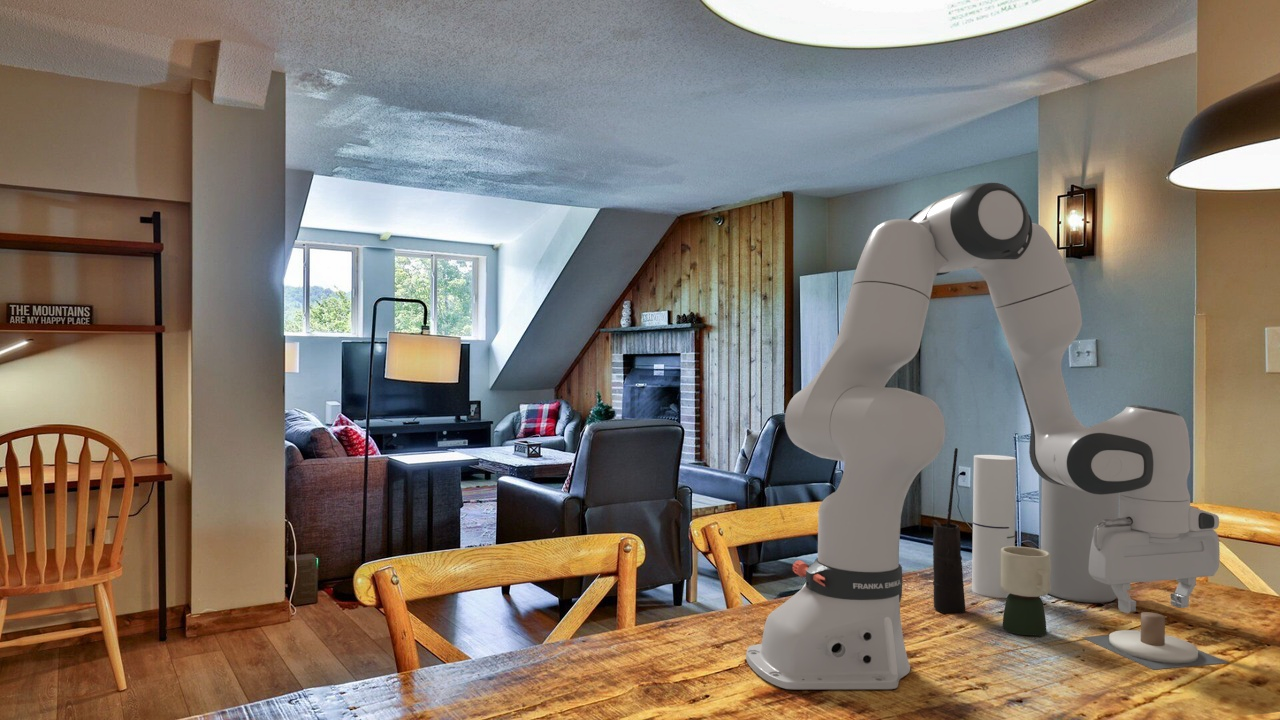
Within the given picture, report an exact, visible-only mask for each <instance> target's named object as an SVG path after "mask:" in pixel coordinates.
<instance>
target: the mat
mask: <svg viewBox="0 0 1280 720" xmlns="http://www.w3.org/2000/svg"><path fill="white" fill-rule="evenodd" d="M1109 635H1110V634H1105V635H1093V636H1090V635H1089V636H1081V637H1080V638H1081V639H1084V640H1085V641H1087V642H1088V641H1089V642H1090V643H1093V644H1094V645H1096V646H1099V647H1101V648H1103V649H1105V650H1107V651H1110V652H1113V653H1114V654H1117V655H1119V656H1121V657H1123V658H1125V659H1127V660H1130V661H1133V662H1135V663H1136V664H1138V665H1141V666H1143V667H1145V668H1148V669H1150V670H1152V671H1156V670H1171V669H1179V668H1189V667H1202V666H1212V665H1213V666H1214V665H1223V664H1230V662H1229V661H1227V660H1224V659H1222V658H1219V657H1217V656H1215V655H1212V654H1209V653H1207V652H1205V651H1202V650H1199V649H1198V659H1197V660H1196V661H1194V662H1190V663H1164V662H1157V661H1151V660H1146V659H1141V658H1137V657H1134V656H1131V655H1128V654H1125V653H1122V652H1120V651H1118V650H1116V649H1115V648H1113V647H1112V646H1111V645H1110V643H1109Z"/></svg>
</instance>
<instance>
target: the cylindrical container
mask: <svg viewBox="0 0 1280 720" xmlns="http://www.w3.org/2000/svg"><path fill="white" fill-rule="evenodd" d="M1016 464H1017V457H1014V456H1009V455H998V454H975V455H973V477H972V478H973V485H972V486H973V489H972V492H973V493H972V501H973V502H972V508H973V509H972V551H971V552H972V553H971V554H972V556H971V557H972V558H971V559H972V564H971V568H972V569H971V572H972V573H971V574H972V575H971V576H972V577H971V591H972V592H973V593H975V594H978V595H979V596H983V597H988V598H999V599H1005V598H1007V596H1008V595H1009V594H1010V593H1008V592H1006V591H1004V590H1002V589H1001V548H1004V547H1011V546H1015V547H1016V543H1015V542H1016V491H1017V490H1016V485H1017V482H1016V478H1017V477H1016V475H1017V473H1016V472H1017V465H1016Z"/></svg>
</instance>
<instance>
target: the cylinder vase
mask: <svg viewBox="0 0 1280 720" xmlns="http://www.w3.org/2000/svg"><path fill="white" fill-rule="evenodd" d="M1040 505H1041V510H1040V511H1041V514H1040V515H1041V518H1040V519H1041V520H1040V527H1041V528H1040V550H1044V551H1047V552H1049V553H1050V565H1051V572H1050V586H1051V589H1050V592H1049V593H1048V594H1047V595H1051V596H1053V597H1056V598H1058V599H1063V600H1068V601H1072V602H1076V603H1077V602H1079V603H1087V604H1089V603H1090V604H1102V603H1110V602H1112V601H1114V600H1115V599H1118V598H1117V596H1116V595H1115V593H1114V591H1113V589H1112V588H1111V585H1108V584H1105V583H1102V582H1099V581H1096V580H1094V579H1093V578H1092V577H1091V575H1090V574H1089V557H1090V549H1091V543H1092V539H1093V532H1094V528H1095V527H1096V526H1097V525H1098V524H1099V523H1101V521H1102V520H1104V519H1117V518H1119V493H1113V494H1104V495H1094V494H1089V493H1085V492H1082V491H1079V490H1076V489H1073V488H1071V487H1068V486H1063V485H1057V484H1053V483H1051V482H1049V481H1047V480H1045V479H1044V478H1042V477H1041V504H1040ZM1102 526H1103V525H1102Z"/></svg>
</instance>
